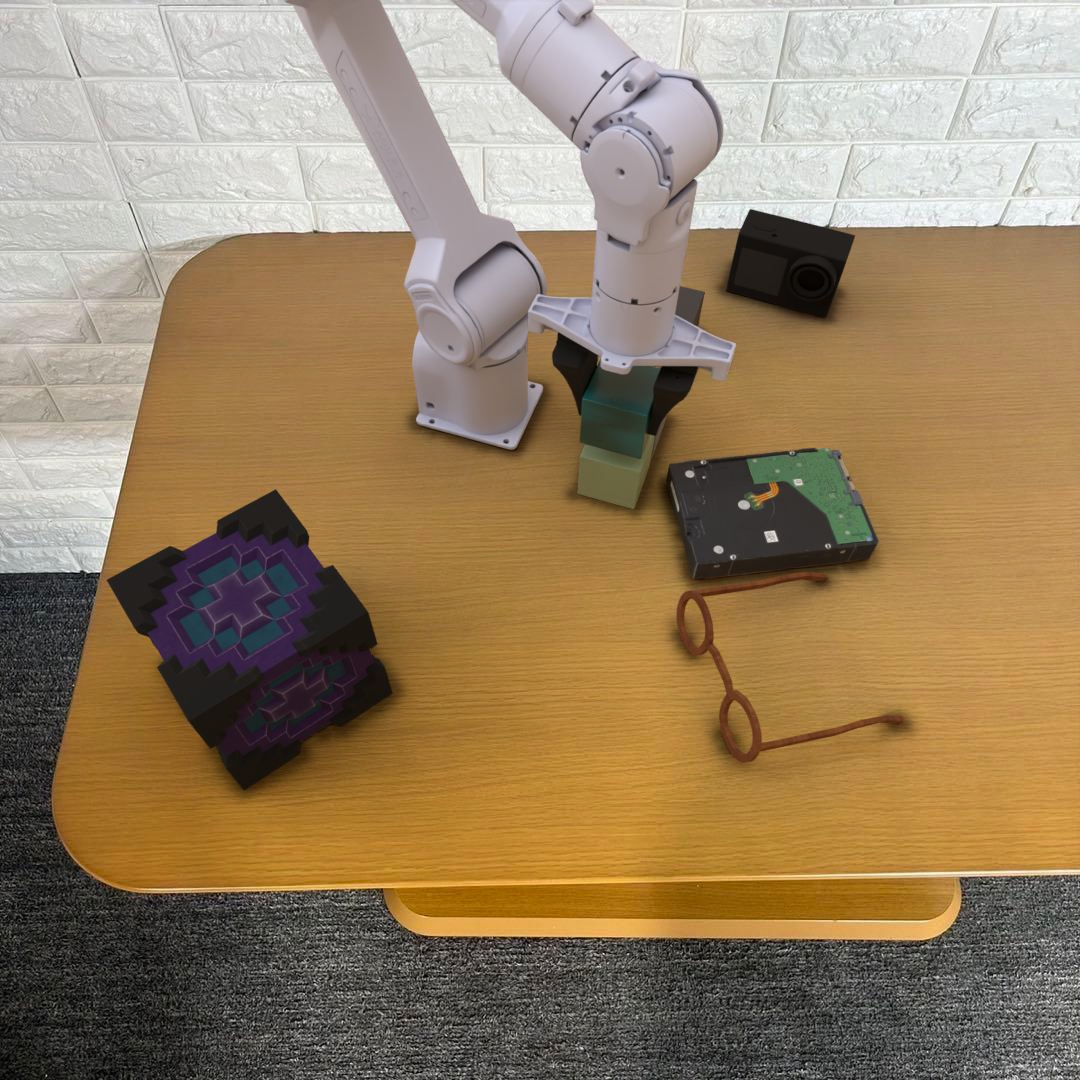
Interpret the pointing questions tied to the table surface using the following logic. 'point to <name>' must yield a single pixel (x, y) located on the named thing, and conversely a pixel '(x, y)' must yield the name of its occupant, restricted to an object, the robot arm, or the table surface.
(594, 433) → the teal block
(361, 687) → the energy cube
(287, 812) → the table surface
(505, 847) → the table surface
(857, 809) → the table surface
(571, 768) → the table surface
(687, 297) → the charcoal block
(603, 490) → the sage block
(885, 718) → the glasses
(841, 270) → the digital camera
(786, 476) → the disk drive
